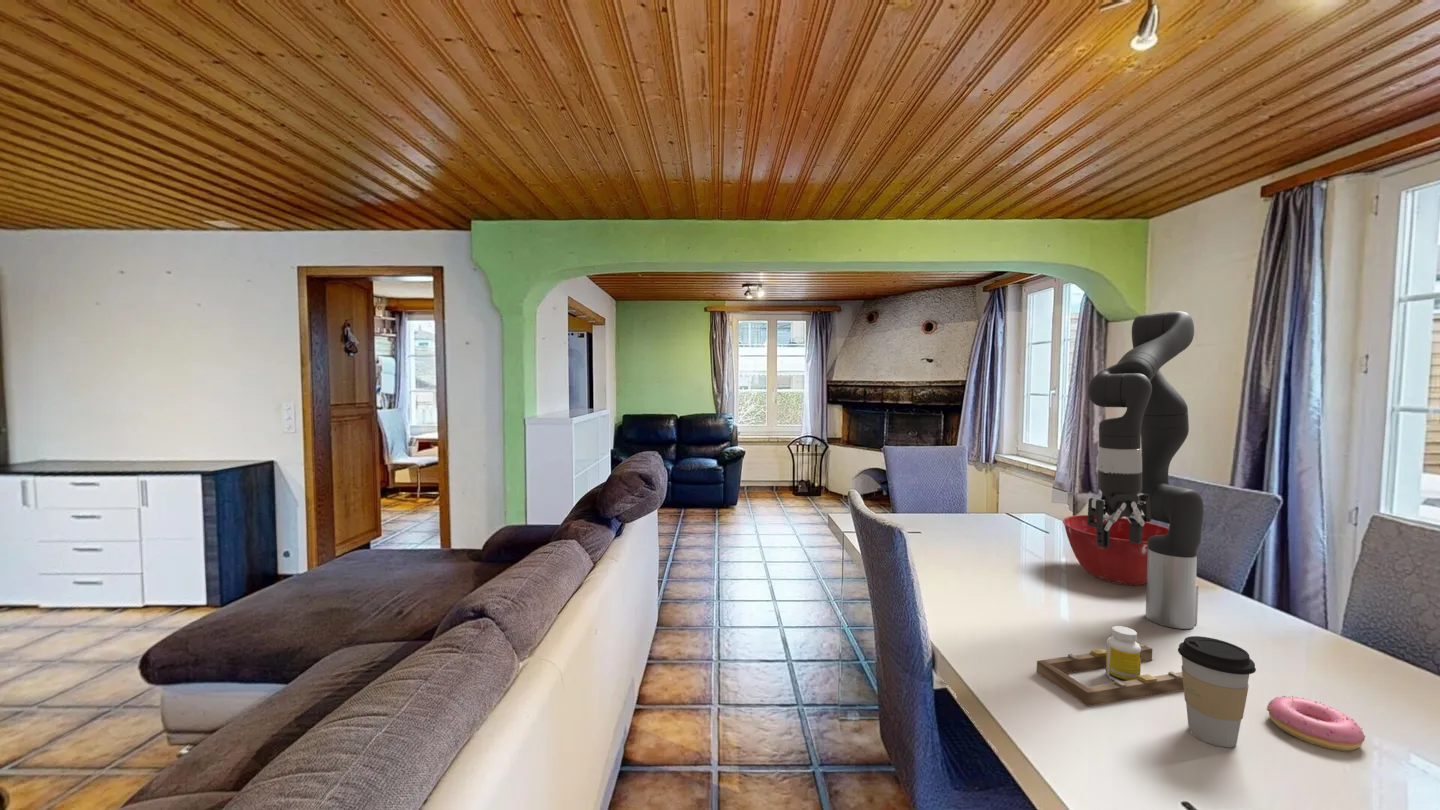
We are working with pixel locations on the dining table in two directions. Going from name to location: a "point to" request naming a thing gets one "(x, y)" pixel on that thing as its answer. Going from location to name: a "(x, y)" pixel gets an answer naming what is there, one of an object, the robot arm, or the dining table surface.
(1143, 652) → the wooden u-shaped frame
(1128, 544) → the mixing bowl
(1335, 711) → the doughnut
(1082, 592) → the dining table surface
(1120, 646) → the supplement bottle
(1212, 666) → the coffee cup
